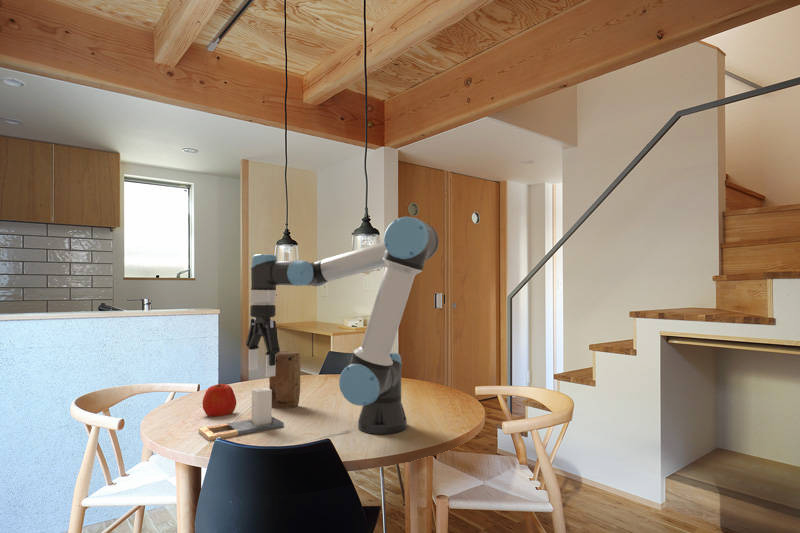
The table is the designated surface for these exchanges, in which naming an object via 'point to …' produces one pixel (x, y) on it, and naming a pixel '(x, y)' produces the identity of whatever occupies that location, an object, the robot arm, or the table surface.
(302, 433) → the table surface
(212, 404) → the apple
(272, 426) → the grey slotted base plate
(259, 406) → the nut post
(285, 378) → the block
